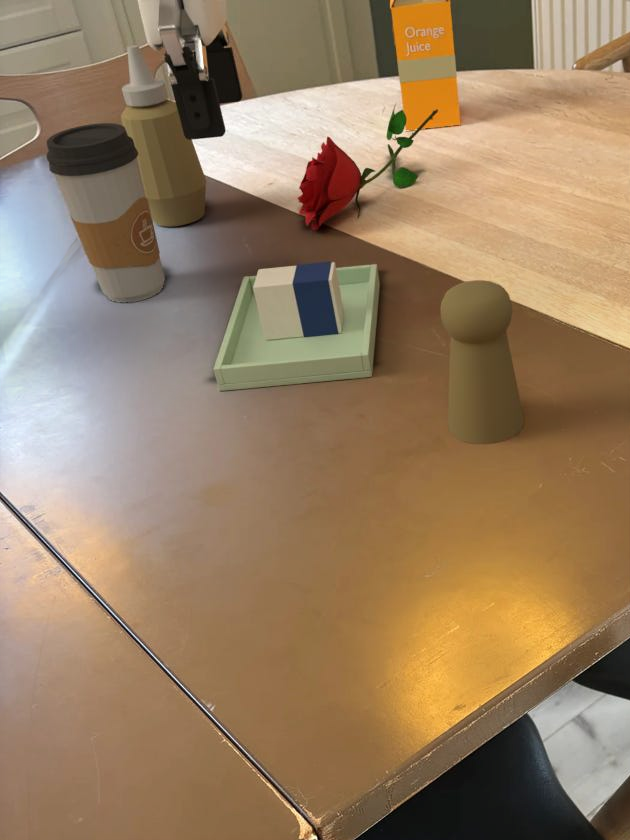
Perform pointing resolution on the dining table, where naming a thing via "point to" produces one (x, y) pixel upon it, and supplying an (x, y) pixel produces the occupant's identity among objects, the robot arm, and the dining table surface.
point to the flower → (348, 175)
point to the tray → (301, 340)
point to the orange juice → (426, 62)
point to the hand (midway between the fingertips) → (215, 118)
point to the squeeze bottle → (162, 148)
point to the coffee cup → (108, 208)
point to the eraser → (299, 301)
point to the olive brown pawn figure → (480, 364)
